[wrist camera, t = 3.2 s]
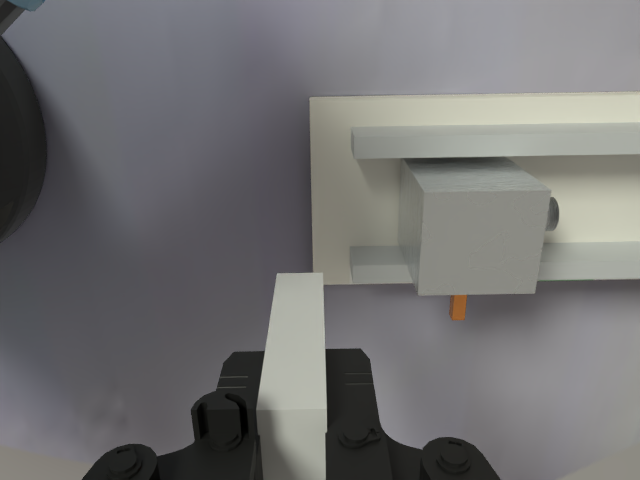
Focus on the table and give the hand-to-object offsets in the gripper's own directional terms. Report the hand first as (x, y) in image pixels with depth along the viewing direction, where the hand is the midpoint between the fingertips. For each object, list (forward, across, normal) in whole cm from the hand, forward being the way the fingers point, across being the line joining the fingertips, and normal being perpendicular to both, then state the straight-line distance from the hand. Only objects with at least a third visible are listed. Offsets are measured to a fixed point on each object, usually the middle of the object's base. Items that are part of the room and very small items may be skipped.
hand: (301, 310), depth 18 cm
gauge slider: (+11, +8, -1) cm, 13 cm away
